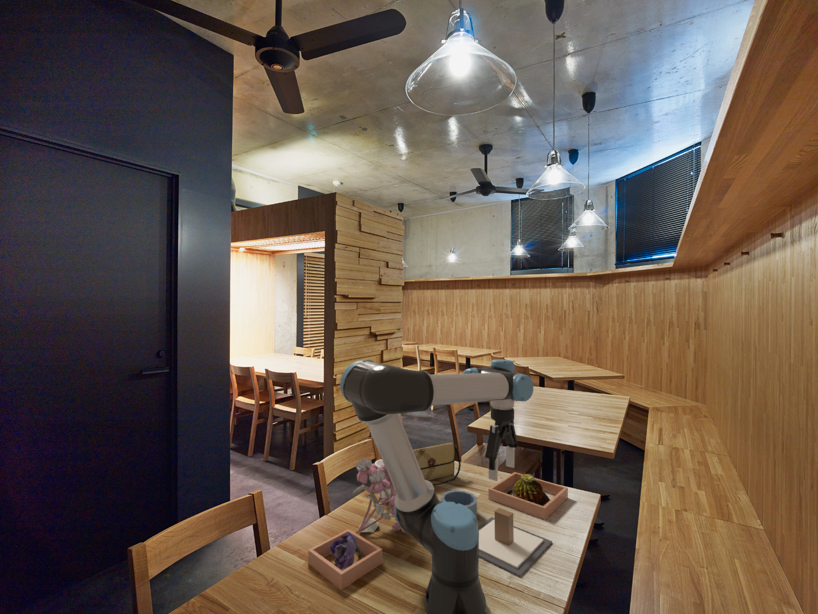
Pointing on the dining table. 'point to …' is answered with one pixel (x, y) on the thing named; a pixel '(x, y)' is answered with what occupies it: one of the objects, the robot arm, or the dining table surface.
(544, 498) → the cactus
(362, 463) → the flower
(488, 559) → the rubber mat
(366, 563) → the flower tray
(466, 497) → the bowl
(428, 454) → the clutch purse
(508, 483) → the cactus tray
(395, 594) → the dining table surface
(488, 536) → the board
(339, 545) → the flower
